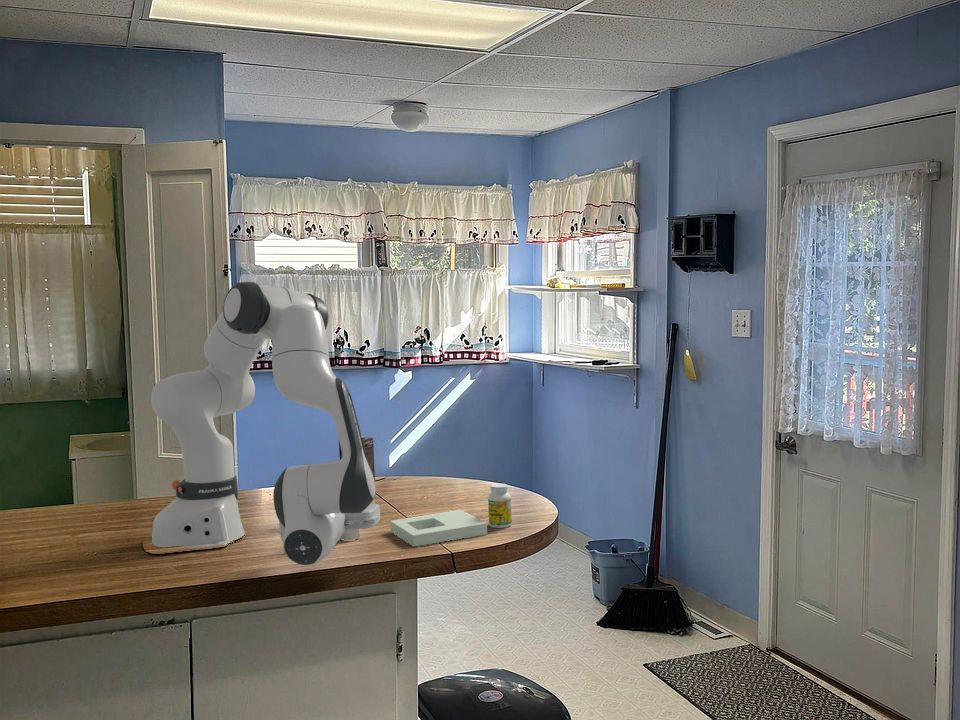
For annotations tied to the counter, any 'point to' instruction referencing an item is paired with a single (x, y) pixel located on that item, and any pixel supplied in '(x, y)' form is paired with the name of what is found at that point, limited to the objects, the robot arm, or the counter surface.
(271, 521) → the counter surface
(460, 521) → the socket board
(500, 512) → the supplement bottle
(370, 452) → the supplement box
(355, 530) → the peg
